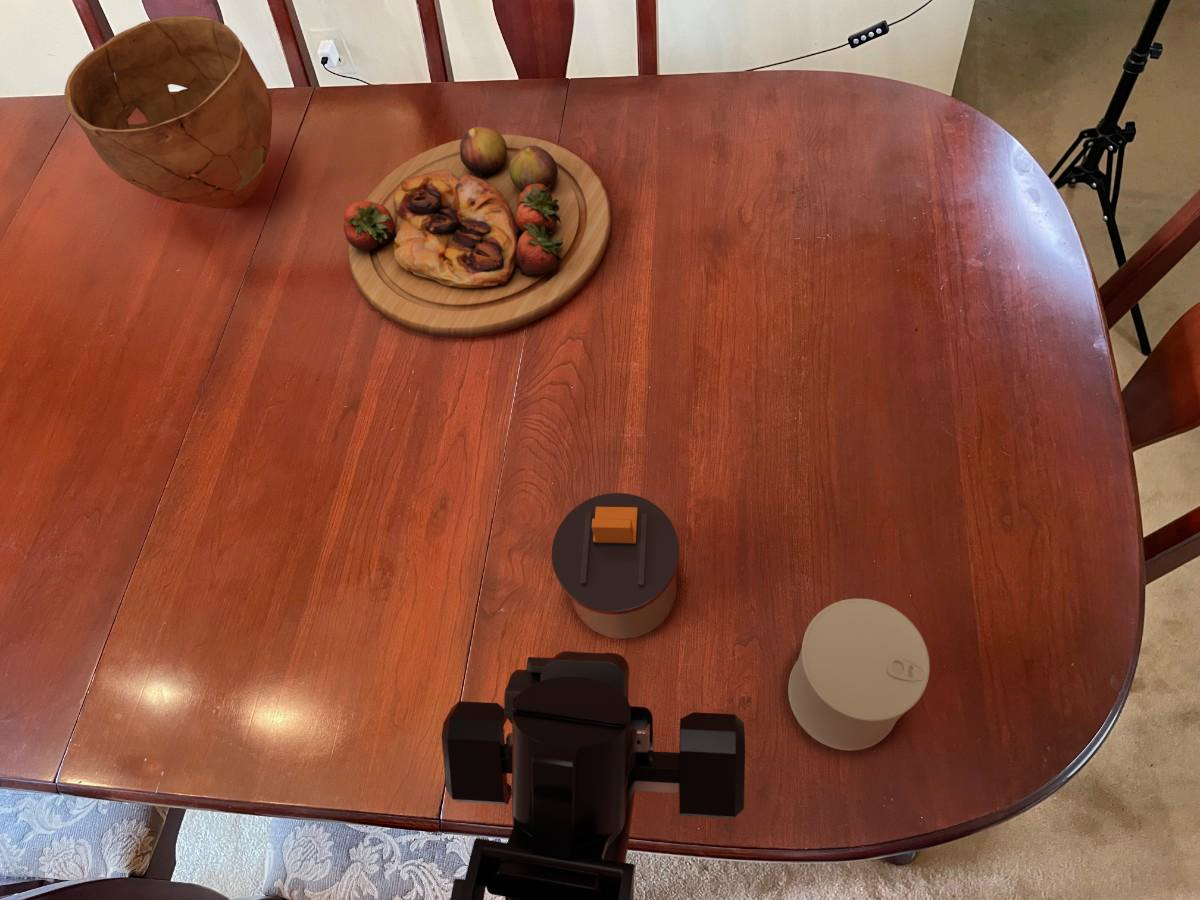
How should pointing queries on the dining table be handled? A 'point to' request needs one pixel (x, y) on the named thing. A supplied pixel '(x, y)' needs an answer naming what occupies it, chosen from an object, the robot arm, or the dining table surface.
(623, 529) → the slider
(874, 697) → the can
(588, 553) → the round container with rails
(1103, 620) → the dining table surface
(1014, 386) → the dining table surface
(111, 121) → the bowl
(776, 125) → the dining table surface
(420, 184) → the wooden plate
